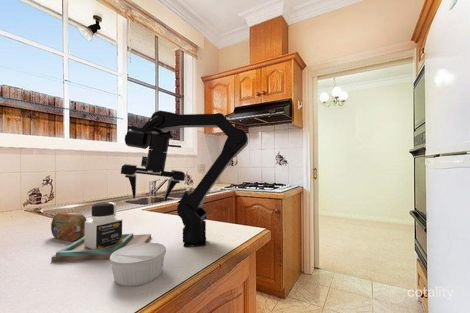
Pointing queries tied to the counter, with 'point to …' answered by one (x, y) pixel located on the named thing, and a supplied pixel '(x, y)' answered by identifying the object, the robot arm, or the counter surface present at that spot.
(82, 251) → the socket board
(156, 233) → the counter surface
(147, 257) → the ramekin
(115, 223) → the medicine bottle
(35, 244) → the counter surface
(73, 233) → the tin
